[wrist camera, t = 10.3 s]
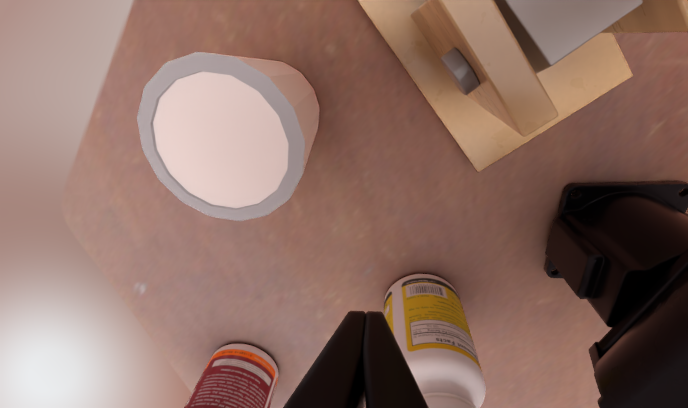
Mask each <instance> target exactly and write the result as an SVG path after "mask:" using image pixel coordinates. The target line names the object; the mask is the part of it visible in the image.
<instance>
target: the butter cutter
mask: <svg viewBox="0 0 688 408" xmlns="http://www.w3.org/2000/svg"><path fill="white" fill-rule="evenodd" d="M357 1H358V2H359V4H360V5H361V7H362V8H363V9H364V11H365V12H366V14H367V15H368V16H369V18H370V19H371V21H372V22H373V24H374V25H375V26H376V28H377V29H378V31H379V32H380V34H381V35H382V36H383V38H384V39H385V41H386V42H387V44H388V45H389V46H390V48H391V49H392V51H393V52H394V54H395V55H396V56H397V58H398V59H399V61H400V62H401V64H402V65H403V66H404V68H405V69H406V71H407V72H408V74H409V75H410V76H411V78H412V79H413V81H414V82H415V84H416V85H417V86H418V88H419V89H420V91H421V92H422V94H423V95H424V96H425V98H426V99H427V101H428V102H429V104H430V105H431V106H432V108H433V109H434V111H435V112H436V114H437V115H438V116H439V118H440V119H441V121H442V122H443V123H444V125H445V126H446V128H447V129H448V131H449V132H450V133H451V135H452V136H453V138H454V139H455V141H456V142H457V143H458V145H459V146H460V148H461V149H462V151H463V152H464V153H465V155H466V156H467V158H468V159H469V161H470V162H471V163H472V165H473V166H474V168H475V169H476V171H477V172H480V171H482V170H483V169H485V168H486V167H488V166H490V165H491V164H493V163H494V162H496V161H498V160H499V159H501V158H502V157H504V156H506V155H507V154H509V153H510V152H512V151H514V150H515V149H517V148H518V147H520V146H522V145H523V144H525V143H526V142H528V141H530V140H531V139H533V138H534V137H536V136H538V135H539V134H541V133H542V132H544V131H546V130H547V129H549V128H550V127H552V126H554V125H555V124H557V123H558V122H560V121H562V120H563V119H565V118H566V117H568V116H570V115H571V114H573V113H574V112H576V111H578V110H579V109H581V108H582V107H584V106H586V105H587V104H589V103H590V102H592V101H594V100H595V99H597V98H598V97H600V96H602V95H603V94H605V93H606V92H608V91H610V90H611V89H613V88H614V87H616V86H618V85H619V84H621V83H622V82H624V81H626V80H627V79H629V78H630V77H632V76H633V75H632V73H631V70H630V68H629V66H628V64H627V62H626V60H625V58H624V56H623V54H622V51H621V49H620V47H619V45H618V43H617V41H616V39H615V37H614V34H613V33H650V32H688V0H642V1H643V3H642V4H641V5H640V6H638V7H637V8H635V9H634V10H632V11H631V12H630V13H628V14H627V15H625V16H624V17H622V18H621V19H619V20H618V21H617V22H615V23H614V24H612V25H611V26H609V27H608V28H606V29H605V30H603V31H602V32H601V33H599V34H598V35H596V36H595V37H593V38H592V39H590V40H589V41H588V42H586V43H585V44H583V45H582V46H580V47H579V48H577V49H576V50H575V51H573V52H572V53H570V54H569V55H567V56H566V57H564V58H563V59H562V60H560V61H559V62H557V63H556V64H554V65H553V66H551V67H549V68H547V69H545V70H543V71H541V72H539V73H537V74H536V73H535V71H534V69H533V68H532V66H531V64H530V62H529V61H528V59H527V57H526V55H525V54H524V52H523V50H522V48H521V47H520V45H519V43H518V41H517V40H516V38H515V36H514V34H513V33H512V31H511V29H510V27H509V26H508V24H507V22H506V20H505V19H504V17H503V15H502V13H501V12H500V10H499V8H498V6H497V5H496V3H495V1H494V0H357Z"/></svg>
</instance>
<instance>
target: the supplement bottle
mask: <svg viewBox="0 0 688 408" xmlns="http://www.w3.org/2000/svg"><path fill="white" fill-rule="evenodd" d="M384 316H385V318H386V320H387V322H388V324H389V326H390V329H391V331H392V333H393V335H394V337H395V339H396V341H397V343H398V345H399V347H400V349H401V351H402V353H403V355H404V358H405V360H406V362H407V364H408V366H409V368H410V370H411V372H412V374H413V376H414V378H415V380H416V382H417V384H418V387H419V389H420V391H421V393H422V395H423V397H424V399H425V401H426V403H427V405H428V407H429V408H480V407H481V405H482V403H483V401H484V398H485V392H486V390H485V382H484V377H483V373H482V370H481V367H480V364H479V360H478V357H477V354H476V350H475V347H474V344H473V340H472V337H471V334H470V330H469V327H468V324H467V321H466V317H465V314H464V311H463V308H462V305H461V302H460V299H459V296H458V294H457V292H456V290H455V289H454V287H453V286H452V285H451V284H450V283H448V282H447V281H446V280H444V279H442V278H440V277H437V276H434V275H430V274H414V275H410V276H406V277H404V278H402V279H400V280H398V281H397V282H395V283H394V284H393V285H392V286H391V287H390V288H389V290H388V292H387V293H386V296H385V300H384Z"/></svg>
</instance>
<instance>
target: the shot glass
mask: <svg viewBox="0 0 688 408" xmlns="http://www.w3.org/2000/svg"><path fill="white" fill-rule="evenodd" d="M319 113H320V108H319V104H318V101H317V98H316V94H315V91H314V89H313V87H312V86H311V85H310V84H309V82H308V81H307V80H306V78H305V77H304V76H303V75H302V73H301V72H299V71H298V70H296V69H294V68H293V67H291V66H289V65H287V64H286V63H284V62H280V61H273V60H266V59H257V58H248V57H240V56H231V55H222V54H213V53H204V52H195V53H192V54H190V55H187V56H184V57H181V58H178V59H175V60H172V61H169V62H166V63H165V64H164V65H163V66H162V67H161V69H160V70H159V71H158V72H157V73H156V74H155V75H154V76H153V78H152V79H151V80H150V81H149V82H148V83H147V84H146V85H145V87H144V91H143V95H142V99H141V103H140V107H139V111H138V115H137V120H138V126H139V132H140V138H141V145H142V150H143V152H144V154H145V156H146V157H147V159H148V161H149V163H150V165H151V167H152V168H153V170H154V172H155V174H156V176H157V177H158V179H159V180H160V181H161V182H162V183H163V184H164V185H165V186H166V187H167V188H168V189H169V190H170V191H171V192H172V193H173V194H174V195H175V196H176V197H177V198H178V199H179V200H180V201H181V202H183V203H185V204H187V205H189V206H190V207H192V208H194V209H196V210H198V211H200V212H202V213H204V214H206V215H208V216H210V217H216V218H222V219H228V220H235V221H243V220H248V219H253V218H258V217H262V216H267V215H268V214H270V213H271V212H273V211H274V210H275V209H277V208H278V207H279V206H281V205H282V204H284V203H285V202H286V201H288V200H289V199H290V197H291V195H292V193H293V192H294V190H295V188H296V186H297V184H298V182H299V181H300V179H301V177H302V175H303V173H304V170H305V166H306V163H307V160H308V157H309V154H310V151H311V148H312V145H313V142H314V139H315V136H316V133H317V130H318V125H319Z"/></svg>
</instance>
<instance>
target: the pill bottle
mask: <svg viewBox="0 0 688 408" xmlns="http://www.w3.org/2000/svg"><path fill="white" fill-rule="evenodd" d="M277 381H278V368H277V366H276V364H275V362H274V361H273V360H272V358H271V357H270V356H269V355H268V354H266V353H265V352H263V351H262V350H260V349H258V348H256V347H254V346H251V345H247V344H229V345H226V346H223V347H221V348H219V349H218V350H217V351H216V352H215V353H214V354H213V355H212V357H211V359H210V361H209V362H208V364H207V366H206V368H205V370H204V372H203V374H202V376H201V378H200V379H199V381H198V383H197V385H196V387H195V389H194V391H193V393H192V394H191V396H190V398H189V400H188V402H187V404H186V406H185V407H184V408H270V404H271V401H272V398H273V395H274V391H275V388H276V385H277Z"/></svg>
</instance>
